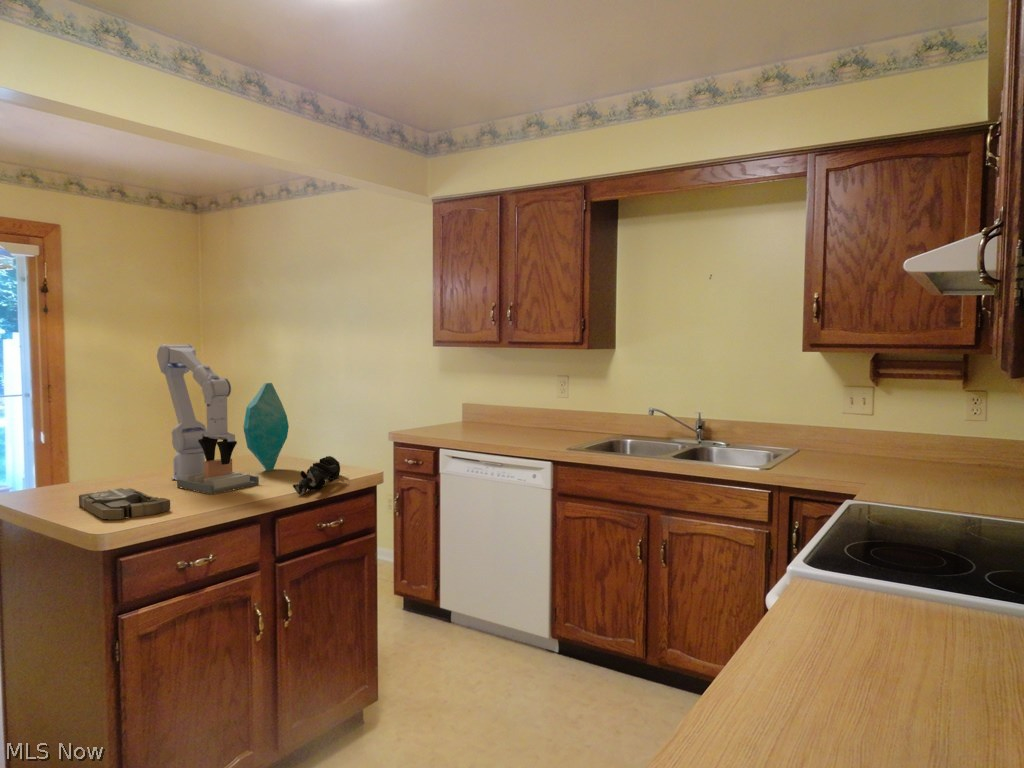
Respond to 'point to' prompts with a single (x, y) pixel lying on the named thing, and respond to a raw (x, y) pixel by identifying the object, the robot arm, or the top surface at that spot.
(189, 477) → the rack
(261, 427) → the crystal
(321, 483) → the figurine
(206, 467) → the tile
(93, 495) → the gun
